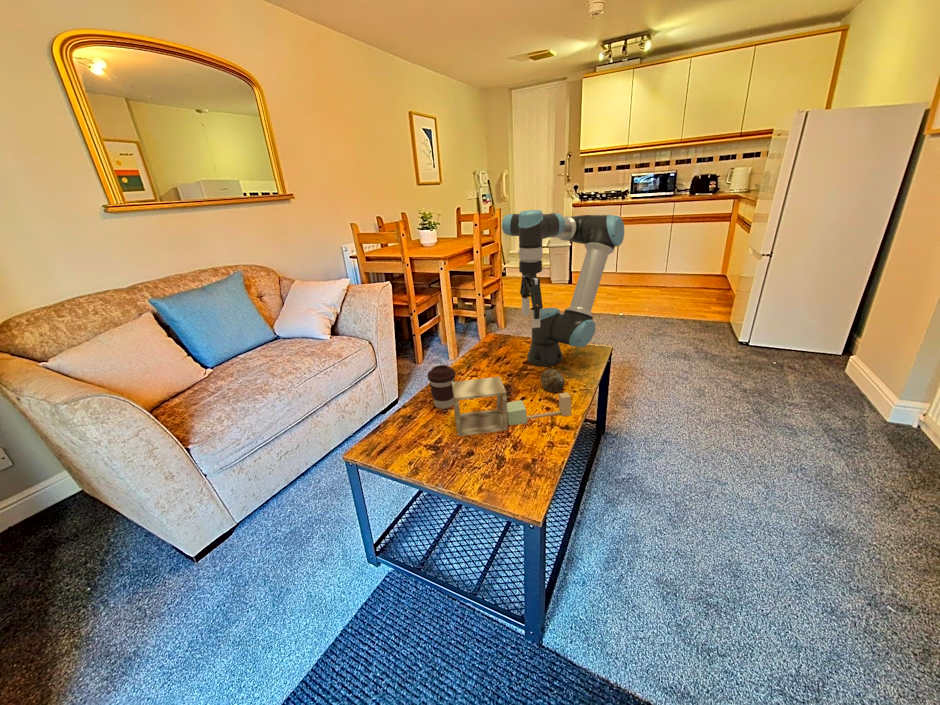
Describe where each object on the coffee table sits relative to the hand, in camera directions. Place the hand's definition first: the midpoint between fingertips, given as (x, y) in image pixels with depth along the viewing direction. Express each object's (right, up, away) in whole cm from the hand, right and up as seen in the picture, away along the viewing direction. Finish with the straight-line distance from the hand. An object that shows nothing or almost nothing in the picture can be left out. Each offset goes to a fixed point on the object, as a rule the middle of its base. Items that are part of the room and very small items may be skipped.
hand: (530, 321), depth 138 cm
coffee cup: (-31, -31, +7) cm, 44 cm away
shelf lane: (-18, -36, -7) cm, 40 cm away
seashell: (+11, -25, +14) cm, 30 cm away
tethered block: (+2, -34, -5) cm, 34 cm away
